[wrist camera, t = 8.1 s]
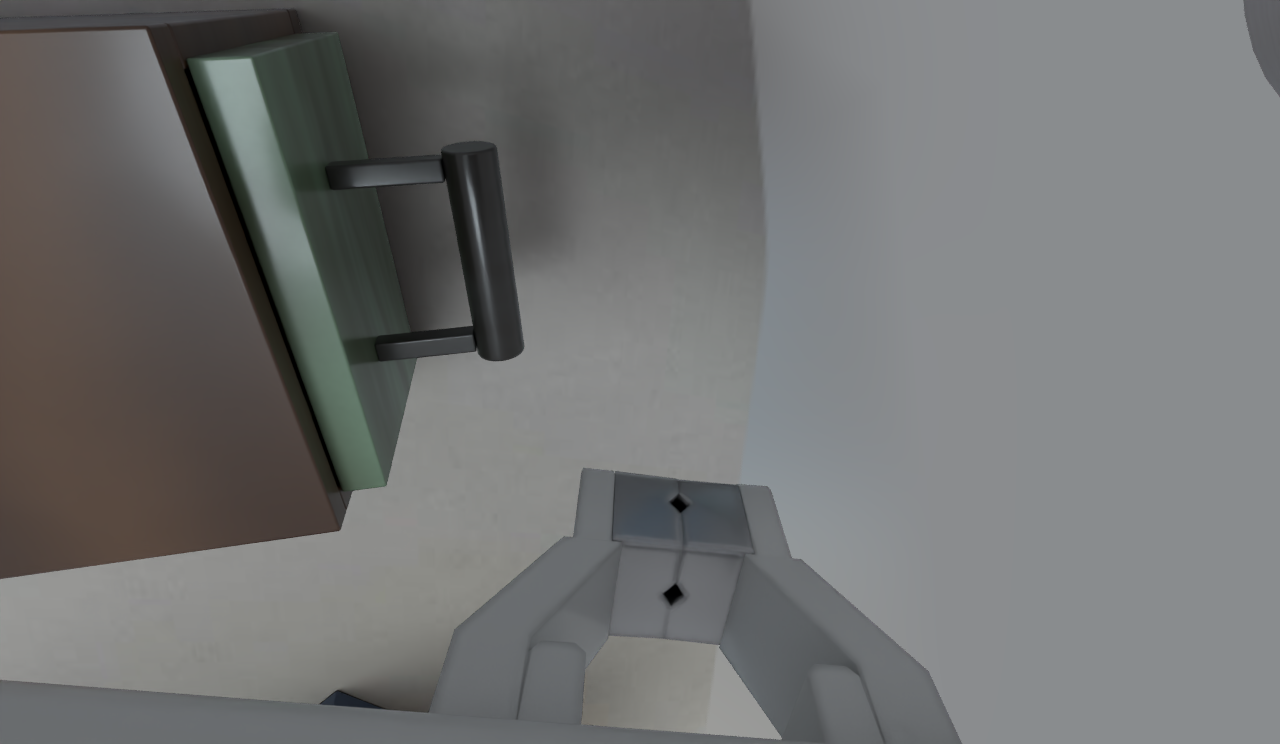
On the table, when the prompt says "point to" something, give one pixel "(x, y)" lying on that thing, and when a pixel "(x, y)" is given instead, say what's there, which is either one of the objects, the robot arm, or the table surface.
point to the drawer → (346, 238)
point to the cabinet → (137, 309)
